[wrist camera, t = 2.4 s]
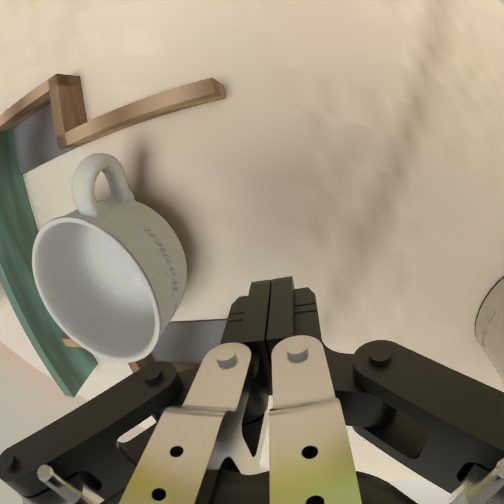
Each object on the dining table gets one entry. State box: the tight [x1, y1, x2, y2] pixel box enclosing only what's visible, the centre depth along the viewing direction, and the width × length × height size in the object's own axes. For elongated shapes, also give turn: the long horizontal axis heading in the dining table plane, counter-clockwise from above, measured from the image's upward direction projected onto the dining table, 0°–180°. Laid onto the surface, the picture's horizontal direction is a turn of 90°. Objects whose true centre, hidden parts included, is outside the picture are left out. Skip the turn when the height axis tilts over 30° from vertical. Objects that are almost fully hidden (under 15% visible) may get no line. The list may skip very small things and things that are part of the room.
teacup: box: [32, 153, 187, 363], centre depth 19 cm, size 14×11×8 cm
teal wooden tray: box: [0, 74, 227, 397], centre depth 21 cm, size 23×29×6 cm
